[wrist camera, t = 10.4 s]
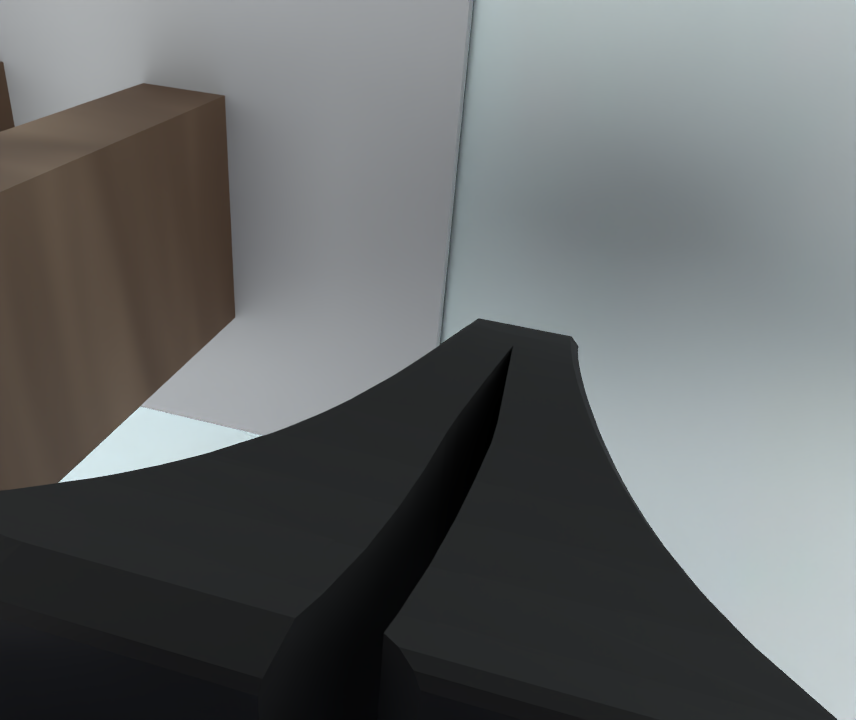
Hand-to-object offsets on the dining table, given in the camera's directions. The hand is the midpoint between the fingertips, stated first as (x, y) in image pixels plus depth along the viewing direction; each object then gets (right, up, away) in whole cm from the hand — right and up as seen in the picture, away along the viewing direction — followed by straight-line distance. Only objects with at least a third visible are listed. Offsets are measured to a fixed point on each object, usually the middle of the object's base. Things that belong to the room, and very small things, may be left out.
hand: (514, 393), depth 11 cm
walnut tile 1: (-6, +3, +5) cm, 8 cm away
